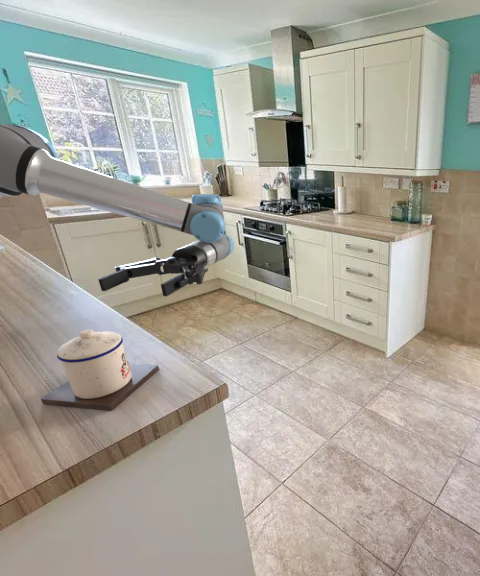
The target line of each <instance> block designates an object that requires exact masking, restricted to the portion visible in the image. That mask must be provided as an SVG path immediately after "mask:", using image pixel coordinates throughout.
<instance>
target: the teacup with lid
mask: <svg viewBox="0 0 480 576" xmlns="http://www.w3.org/2000/svg"><path fill="white" fill-rule="evenodd" d="M123 342H124V339H123V337H122V336H121V335H120V334H119V333H118V332H115V331H108V330H107V331H105V330H103V331H94V330H93V329H84V330H82V331H80V332H79V334H78V336H76V337H74V338H72V339H70V340H68V341H66V342H65V343H63V344H62V345H61V346H60V347H59V348H58V350H57V353H56V358H57V360H59V361H60V362H61V365H62V367H63V370H64V373H65V375H66V378H67V381H68V380H69V382H70V385H71V388H72V390H73V393H74V394H75V396H77V397H79V398H83V399H92V398H98V397H102V396H106V395H108V394H111V393H113V392H115V391H117V390H119V389H121V388H122V387H124V386H125V385H126V384H127V383H128V382H129V381H130V379H131V376H132V374H131V371H130V367H129V364H128V363H129V361H128V358H127V355H126V351H125V348H124V345H123Z"/></svg>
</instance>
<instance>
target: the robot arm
mask: <svg viewBox="0 0 480 576" xmlns="http://www.w3.org/2000/svg"><path fill="white" fill-rule="evenodd" d="M22 194H26V195H29V196H38V195H40V194H45V195H48V196H51V197H56V198H58V199H63V200H67V201H70V202H73V203H77V204H81V205H85V206H87V207H90V208H95V209H98V210H102V211H104V212H105V211H106V212H109V213H112V214H117V215H120V216H123V217H127V218H130V219H134V220H138V221H140V222H141V221H142V222H145V223H148V224H152V225H156V226H159V227H162V228H167V229H171V230H174V231H177V232H181V233H185V234H187V235H190V236H193V237H194V238H195V239H197V240H196V241H193V242H191V243H189V244H186V245H185V246H182V247H179V248H177V249H175V250H174V252H173V253H172V255H171V257H166V258H165V259H161V258H160V257H158V256H156V257H152V258H150V259H146V260H141V261H136V262H132V263H127V264H123V265H117V266H114V269H115V272H112V273H110V274H108V275H105V276H102V277H100V278H98V283H99V286H100V287H99V288H100V290H101V292H107V291H109V290H111V289H113V288H116V287H118V286H120V285H122V284H124V283H128V282H129V281H130V279H135V278H140V277H141V278H142V277H146V276H151V275H159V276H162V275H163V276H164V275H167V274H171V275H173V274H177V275H175V276H173V277H172V278H170V279H168V280H166V281H164V282H163V283H160V288H161V293H162V296H163V297H168V296H171V295H172V294H173V293H175V292H177V291H179V290H180V289H182V288H185V287H187V286H188V285H189V286H191V285H193V284H194V283H196V285H202V284H203V282H204V278H205V274H206V273H207V272H209V267H210V266H212V265H215V264H216V263H218V262H220V261H222V260H225V259H226V258H227V257H228V256H229V255H231V254H232V253H233V251H234V248H235V244H234V241H233V239H232V238H231V236H230V235H228V234H227V233H226V221H225V216H224V209H223V203H222V198H221V196H220V195H219V194H217V193H215V194H214V193H197V194H193V195H192V196H191V199H190V200H191V202H189V201H186V200H183V199H180V198H177V197H174V196H171V195H168V194H165V193H161V192H158V191H156V190H153V189H150V188H146V187H143V186H140V185H137V184H134V183H131V182H128V181H125V180H122V179H119V178H115V177H113V176H109V175H106V174H103V173H100V172H98V171H94V170H91V169H88V168H85V167H82V166H79V165H76V164H73V163H70V162H67V161H64V160H60V159H59V156H58V153H57V150H56V149H55V147H54V146H53V145H52V143H51V142H50V141H49V140H48V139H47V138H46V137H44V136H43V135H42V134H40V133H39V132H36V131H35V130H32V129H30V128H27V127H25V126H21V125H18V124H14V123H13V124H11V123H0V200H1V199H2V198H4V197H9V198H11V197H12V198H17V197H19V196H20V195H22ZM161 268H162V269H163V270H162V269H161Z"/></svg>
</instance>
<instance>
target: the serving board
mask: <svg viewBox="0 0 480 576" xmlns="http://www.w3.org/2000/svg"><path fill="white" fill-rule="evenodd" d="M128 364H129V367H130V371H131V374H132V376H131V379H130V381H129V382H128V383H127V384H126V385H125V386H124V387H122V388H121V389H119V390H117V391H115V392H113V393H111V394H108V395H106V396H102V397H98V398H92V399H83V398H79V397H77V396H75V394H74V393H73V390H72V388H71V385H70V382H69V380H68V379H67V381H65V382H64V383H63V384H61V385H60V386H58V387H57V388H55V389H54V390H52V391H50V392H49V393H47V394H46V395H45V396H43V397H42V398H40V401H41V404H42V405H49V406H59V407H69V408H80V409H87V410H88V409H90V410H99V411H100V410H101V411H109V412H111V411H113V410H114V409H116V408H117V407H118V406H119V405H120V404H122V403H123V402H124V401H126V399H127V398H129V397H130V396H131V395H132V394H133V393H134V392H135V391H136V390H138V389H139V388H140V387H141V386H143V384H145V383H146V382H147V381H148V380H149V379H151V377H153V376H154V375H155V374H156V373H158V371H160V368H159V367H160V366H159V365H158V364H150V363H138V362H137V363H136V362H128Z"/></svg>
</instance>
